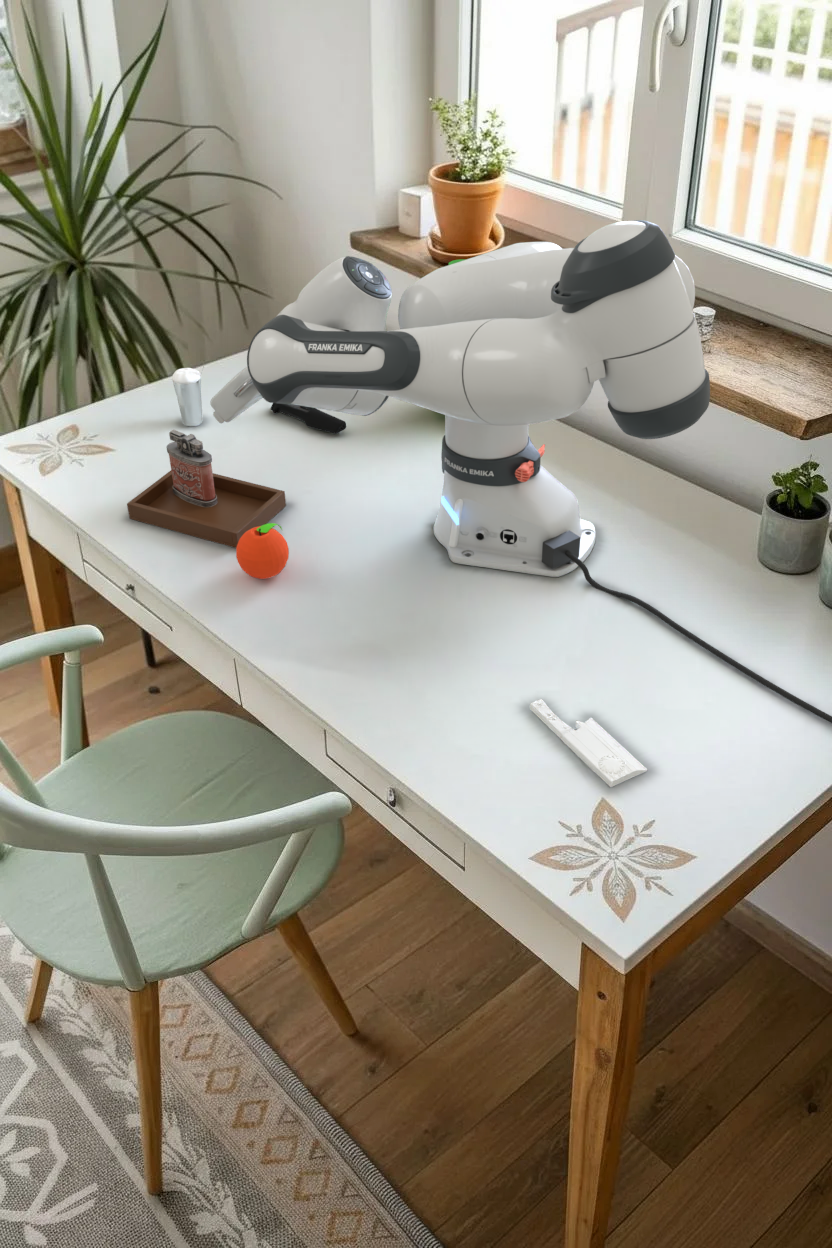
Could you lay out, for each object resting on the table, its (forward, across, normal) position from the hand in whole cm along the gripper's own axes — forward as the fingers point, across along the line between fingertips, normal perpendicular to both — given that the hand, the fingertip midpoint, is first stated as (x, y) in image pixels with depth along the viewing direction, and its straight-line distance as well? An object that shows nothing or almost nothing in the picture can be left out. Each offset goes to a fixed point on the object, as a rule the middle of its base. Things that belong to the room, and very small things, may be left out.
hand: (239, 402), depth 164 cm
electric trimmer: (+17, +28, -7) cm, 34 cm away
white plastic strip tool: (-30, -24, -55) cm, 68 cm away
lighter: (+19, 0, -5) cm, 20 cm away
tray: (+16, -2, -8) cm, 19 cm away
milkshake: (+29, +20, +5) cm, 36 cm away
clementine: (+5, -12, -20) cm, 24 cm away
